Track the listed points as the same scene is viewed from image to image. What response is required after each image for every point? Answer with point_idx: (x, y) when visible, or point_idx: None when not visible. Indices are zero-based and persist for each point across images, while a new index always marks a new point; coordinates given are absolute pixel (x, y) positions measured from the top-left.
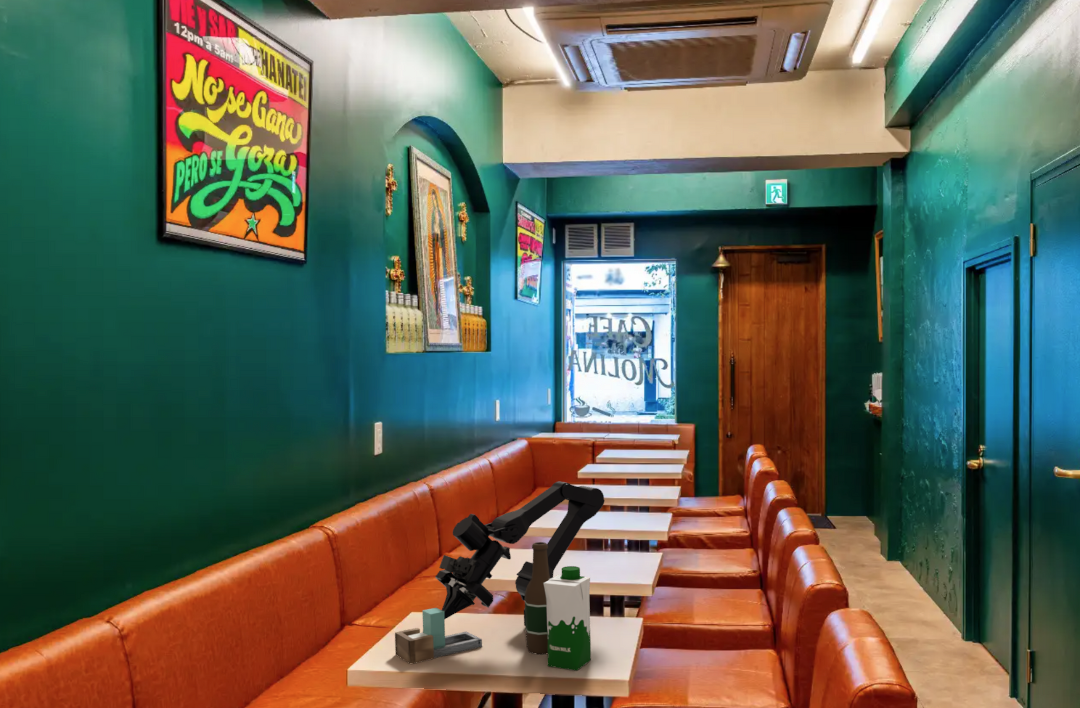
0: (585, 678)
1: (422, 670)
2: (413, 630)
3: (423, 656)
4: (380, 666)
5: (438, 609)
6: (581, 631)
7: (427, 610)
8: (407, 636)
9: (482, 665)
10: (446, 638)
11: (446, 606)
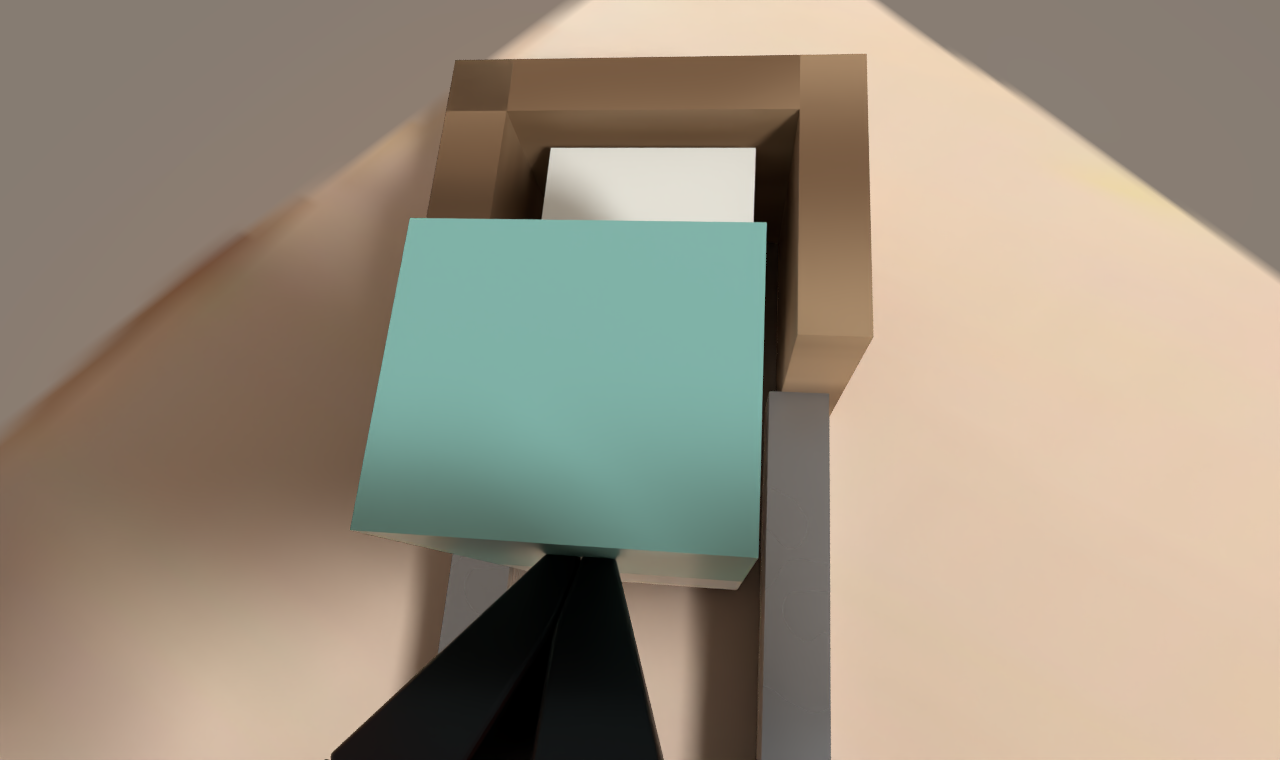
0: None
1: (334, 207)
2: (798, 249)
3: None
4: (645, 19)
5: (580, 514)
6: None
7: (690, 297)
8: (617, 98)
9: (16, 648)
10: (761, 742)
11: (469, 707)
